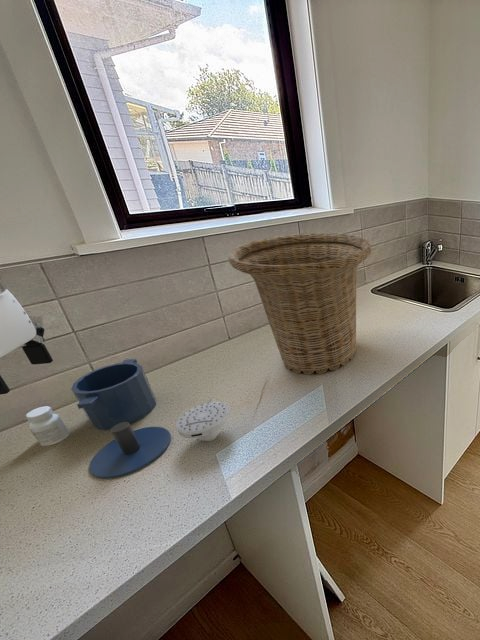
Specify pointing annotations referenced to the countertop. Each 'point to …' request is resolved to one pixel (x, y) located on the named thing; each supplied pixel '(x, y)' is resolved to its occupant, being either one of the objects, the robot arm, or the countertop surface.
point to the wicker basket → (307, 294)
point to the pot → (115, 394)
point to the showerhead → (204, 421)
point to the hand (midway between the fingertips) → (22, 377)
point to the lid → (129, 450)
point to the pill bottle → (47, 426)
